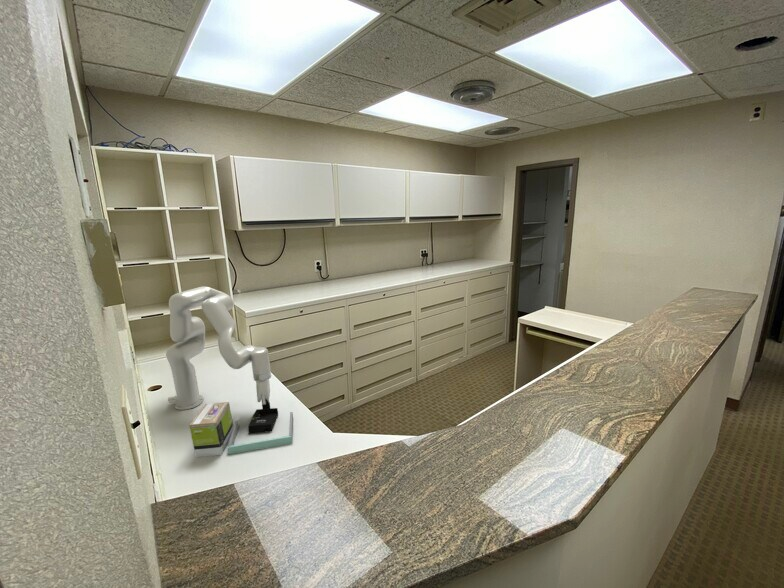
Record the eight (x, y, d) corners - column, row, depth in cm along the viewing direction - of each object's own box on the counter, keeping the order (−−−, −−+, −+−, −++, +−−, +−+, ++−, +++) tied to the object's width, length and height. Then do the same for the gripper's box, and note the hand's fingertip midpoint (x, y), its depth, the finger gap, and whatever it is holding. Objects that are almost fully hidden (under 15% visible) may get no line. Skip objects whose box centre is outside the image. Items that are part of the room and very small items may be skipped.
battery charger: (271, 432, 150) (270, 424, 149) (248, 434, 149) (247, 426, 148) (278, 415, 163) (277, 407, 162) (257, 417, 162) (256, 409, 161)
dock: (228, 454, 137) (227, 447, 136) (236, 426, 154) (235, 420, 154) (292, 443, 143) (291, 436, 142) (293, 417, 160) (292, 411, 159)
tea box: (210, 434, 150) (205, 402, 147) (235, 432, 151) (230, 400, 147) (194, 458, 136) (188, 424, 132) (221, 455, 136) (216, 421, 133)
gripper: (255, 369, 166) (259, 404, 170) (251, 383, 152) (256, 421, 156) (271, 366, 168) (276, 401, 172) (269, 381, 153) (274, 418, 158)
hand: (266, 411), depth 164 cm, fingers closed
